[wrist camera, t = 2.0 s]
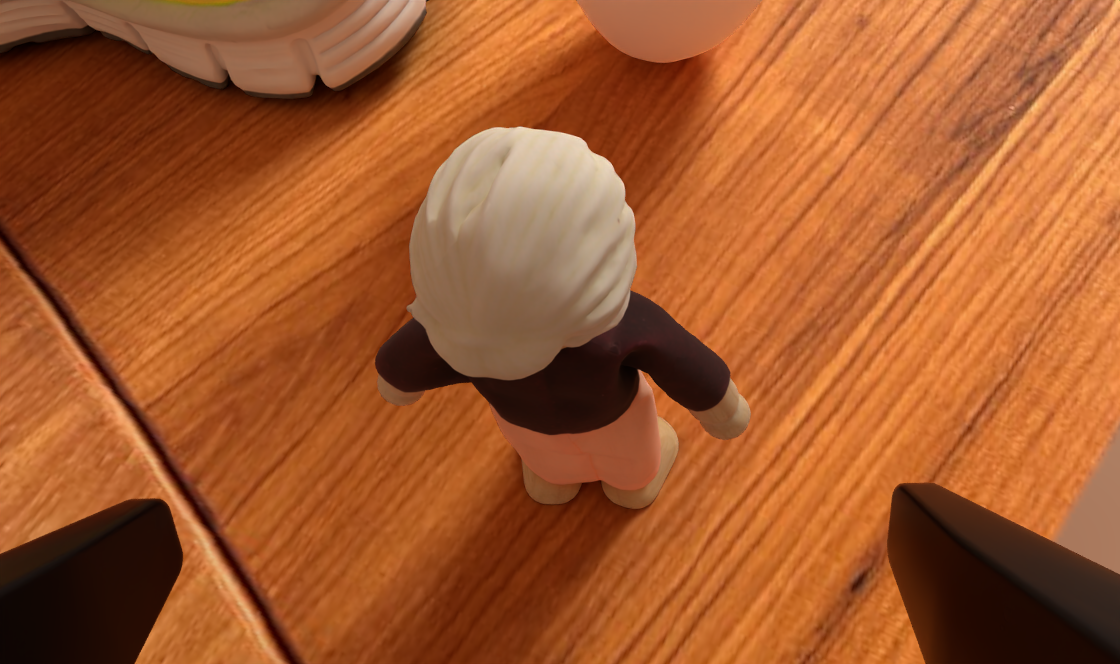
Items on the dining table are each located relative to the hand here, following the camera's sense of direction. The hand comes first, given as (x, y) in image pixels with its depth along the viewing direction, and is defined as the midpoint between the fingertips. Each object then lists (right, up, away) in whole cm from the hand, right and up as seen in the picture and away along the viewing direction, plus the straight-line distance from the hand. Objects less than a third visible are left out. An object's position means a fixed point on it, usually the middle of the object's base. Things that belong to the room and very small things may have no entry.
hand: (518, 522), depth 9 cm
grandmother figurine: (+1, -1, +12) cm, 12 cm away
